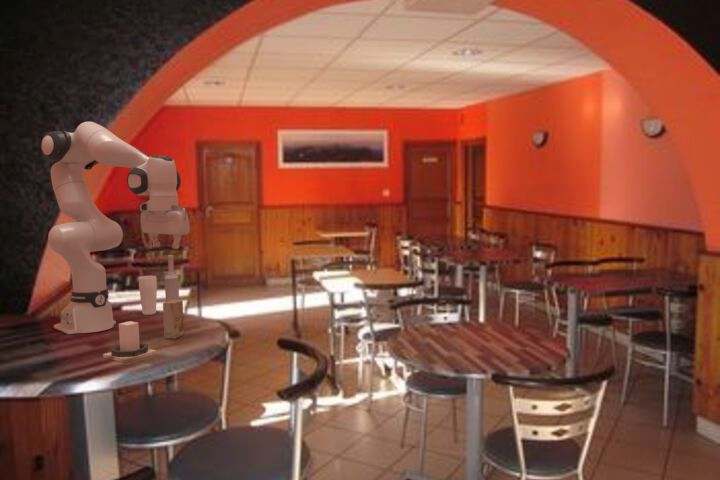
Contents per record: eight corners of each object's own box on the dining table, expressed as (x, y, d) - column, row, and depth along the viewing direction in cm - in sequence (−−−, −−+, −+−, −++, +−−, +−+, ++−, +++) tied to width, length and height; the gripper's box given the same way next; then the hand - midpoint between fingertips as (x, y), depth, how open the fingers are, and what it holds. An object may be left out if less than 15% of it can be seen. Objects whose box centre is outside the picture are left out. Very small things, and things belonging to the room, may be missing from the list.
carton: (120, 352, 181) (118, 323, 181) (131, 349, 185) (130, 321, 184) (128, 354, 179) (126, 325, 178) (139, 351, 183) (138, 322, 182)
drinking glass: (137, 315, 237) (135, 278, 235) (145, 311, 244) (144, 275, 242) (152, 315, 236) (151, 278, 234) (161, 312, 242) (159, 275, 241)
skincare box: (175, 339, 200) (173, 303, 199) (163, 338, 201) (161, 303, 200) (184, 334, 207) (183, 299, 205) (173, 333, 207) (171, 299, 206)
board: (103, 357, 180) (102, 349, 180) (134, 348, 190) (134, 340, 189) (125, 362, 174) (125, 354, 174) (157, 353, 184) (156, 345, 183)
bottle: (163, 320, 228) (160, 255, 225) (175, 317, 232) (173, 254, 229) (170, 322, 224) (167, 256, 222) (183, 319, 228) (180, 255, 226)
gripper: (193, 205, 191) (195, 248, 193) (152, 204, 202) (154, 245, 204) (177, 206, 186) (179, 250, 187) (136, 205, 197) (138, 247, 199)
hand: (166, 247), depth 196 cm, fingers open, 8 cm apart
